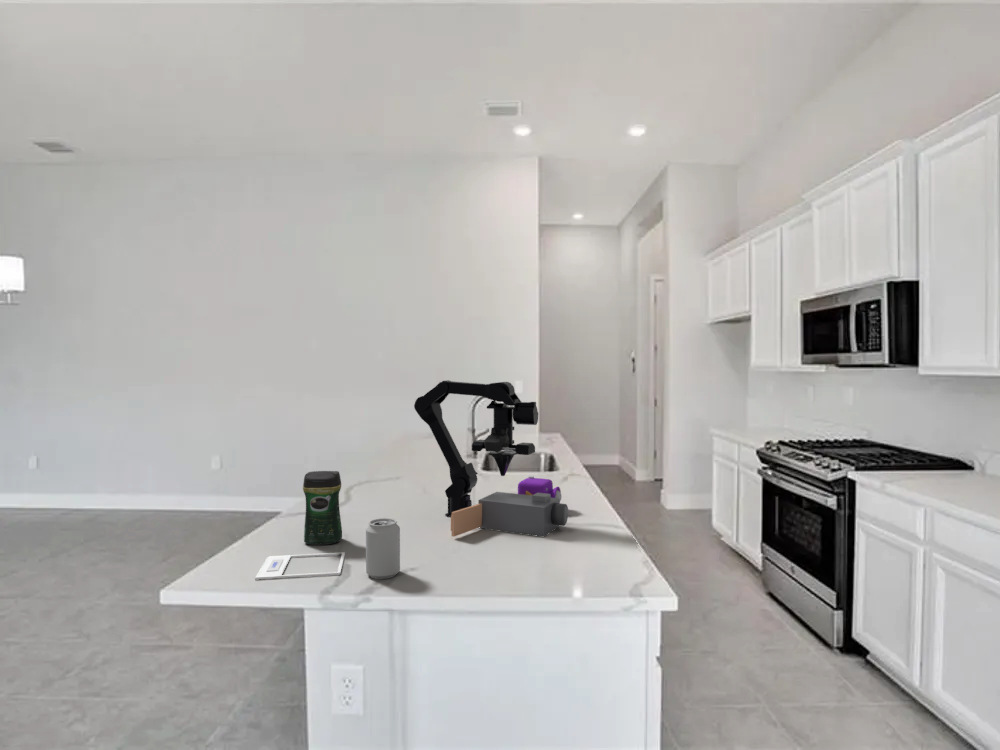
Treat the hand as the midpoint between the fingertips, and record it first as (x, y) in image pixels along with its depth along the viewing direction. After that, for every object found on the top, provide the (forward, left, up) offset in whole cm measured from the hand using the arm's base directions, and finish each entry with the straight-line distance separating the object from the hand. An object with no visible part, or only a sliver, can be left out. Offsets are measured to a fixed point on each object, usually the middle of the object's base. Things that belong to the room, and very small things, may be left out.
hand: (502, 475), depth 183 cm
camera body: (+10, -6, -13) cm, 17 cm away
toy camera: (+6, +15, -13) cm, 21 cm away
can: (-4, -54, -13) cm, 56 cm away
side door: (-2, -18, -12) cm, 22 cm away
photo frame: (-24, -58, -14) cm, 64 cm away
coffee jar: (-33, -41, -13) cm, 54 cm away
